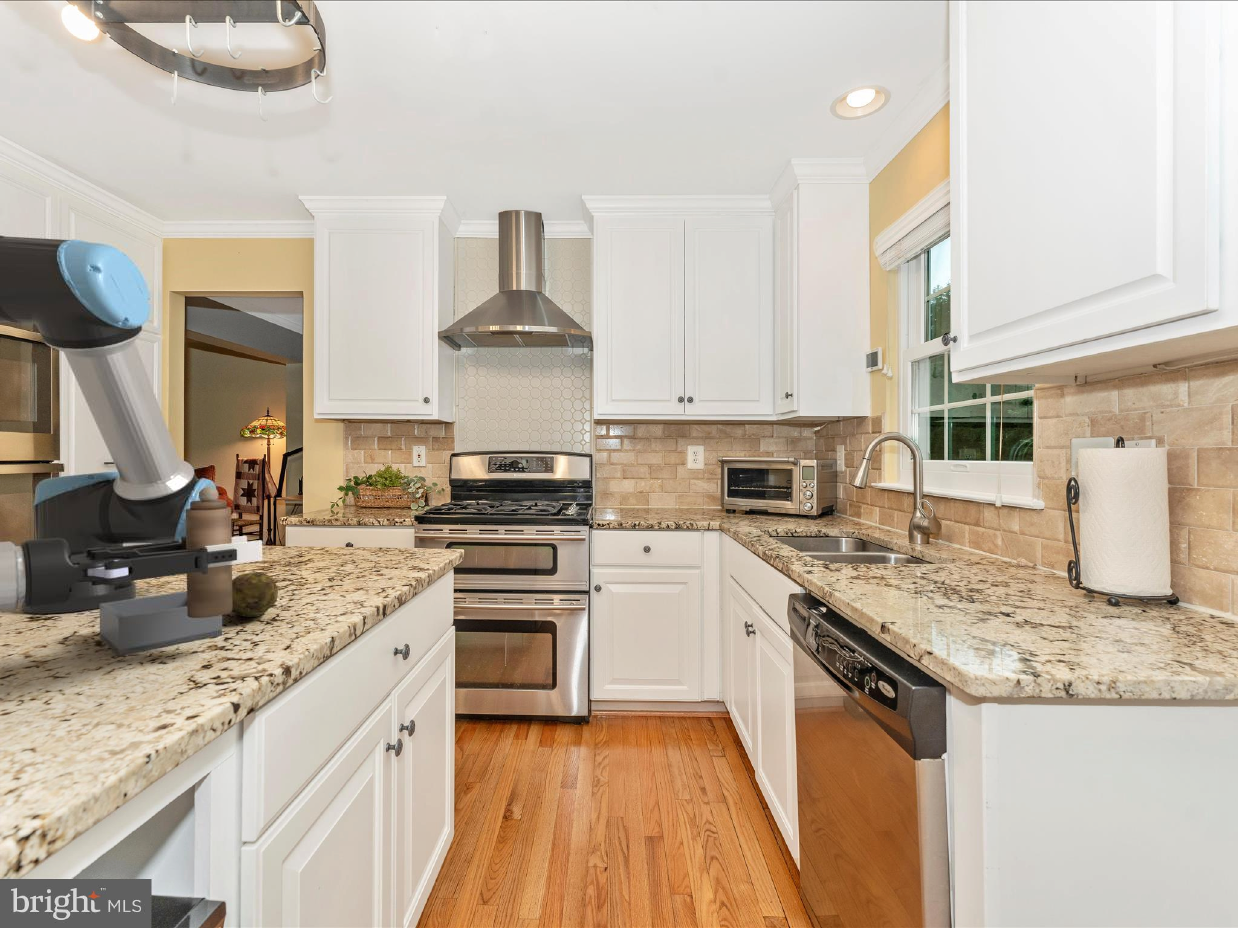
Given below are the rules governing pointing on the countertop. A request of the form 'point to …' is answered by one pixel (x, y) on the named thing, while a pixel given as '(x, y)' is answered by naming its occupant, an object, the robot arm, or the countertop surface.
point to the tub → (153, 623)
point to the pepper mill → (204, 528)
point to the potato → (253, 594)
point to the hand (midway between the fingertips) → (253, 547)
